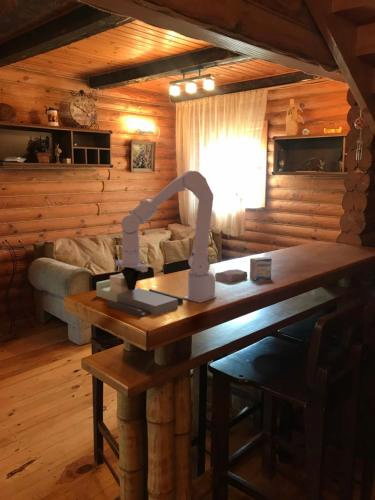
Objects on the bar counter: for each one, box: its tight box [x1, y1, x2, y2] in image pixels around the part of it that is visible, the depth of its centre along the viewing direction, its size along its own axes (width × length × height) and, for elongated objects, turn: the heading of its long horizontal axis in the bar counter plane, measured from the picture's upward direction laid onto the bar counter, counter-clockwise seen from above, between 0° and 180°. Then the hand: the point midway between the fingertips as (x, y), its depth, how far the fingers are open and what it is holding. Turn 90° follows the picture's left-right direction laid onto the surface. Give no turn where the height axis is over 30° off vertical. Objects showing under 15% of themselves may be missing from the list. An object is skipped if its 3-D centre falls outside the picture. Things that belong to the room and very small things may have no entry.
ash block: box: [109, 272, 135, 293], centre depth 150 cm, size 6×6×5 cm
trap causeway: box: [95, 278, 184, 318], centre depth 147 cm, size 19×30×5 cm, turn 47°
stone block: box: [214, 268, 248, 284], centre depth 178 cm, size 12×5×10 cm
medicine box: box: [249, 256, 273, 281], centre depth 178 cm, size 8×4×9 cm, turn 115°
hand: (131, 289), depth 148 cm, fingers closed
